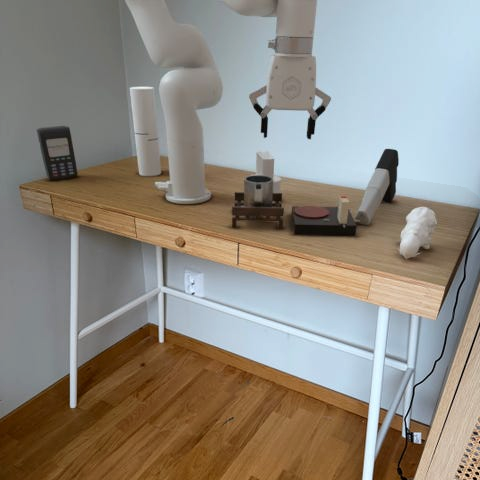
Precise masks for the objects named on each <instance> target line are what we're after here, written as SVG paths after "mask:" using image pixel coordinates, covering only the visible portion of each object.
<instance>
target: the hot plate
mask: <svg viewBox="0 0 480 480" xmlns="http://www.w3.org/2000/svg"><path fill="white" fill-rule="evenodd" d="M299 206H300V207H297V208H295V210H294V213H295V214H297V215H298V216H301V217H306V218H322V217H326V216H328V215H329V211H328V210H327V209H326V208H323V207H324V206H319V205H299Z"/></svg>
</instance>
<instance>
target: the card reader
mask: <svg viewBox="0 0 480 480" xmlns="http://www.w3.org/2000/svg"><path fill="white" fill-rule="evenodd" d="M36 133H37V138H38V144H39V148H40V153H41V157H42V163H43V166H44V171H45V173H46V178H47V180H48V181H61V180H68V179H75V178H76V177H78V168H77V162H76V156H75V151H74V145H73V139H72V134H71V133H72V132H71V128H70V127H69V125H68V126H66V125H59V126H58V125H57V126H45V127H39V128H36Z"/></svg>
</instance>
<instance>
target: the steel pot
mask: <svg viewBox="0 0 480 480" xmlns="http://www.w3.org/2000/svg"><path fill="white" fill-rule="evenodd" d="M251 175H252V176H251ZM251 175H247V176H246V177H244V179H243V192H244V201H243V202H244V206H243V207H273V206H272V197H273V178H271V177H269V176H264V175H255V174H251Z"/></svg>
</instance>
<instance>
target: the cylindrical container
mask: <svg viewBox="0 0 480 480" xmlns="http://www.w3.org/2000/svg"><path fill="white" fill-rule="evenodd" d="M129 94H130V103H131V113H132V122H133V123H132V124H133V132H134V140H135V148H136V159H137V168H138V174H139V176H141V177H142V176H143V177H155V176H160V175H161V174H162V167H161V166H162V165H161V153H160V143H159V132H158V119H157V108H156V107H157V106H156V95H155V87H153V86H131V87H129Z"/></svg>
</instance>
